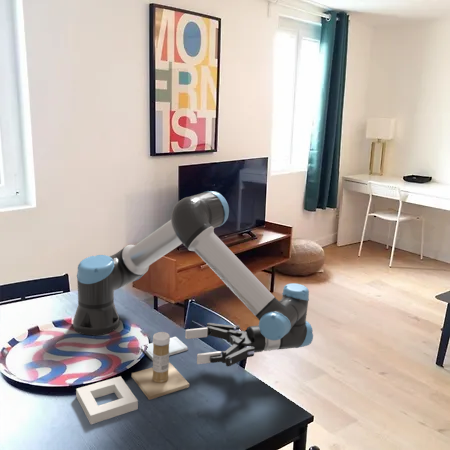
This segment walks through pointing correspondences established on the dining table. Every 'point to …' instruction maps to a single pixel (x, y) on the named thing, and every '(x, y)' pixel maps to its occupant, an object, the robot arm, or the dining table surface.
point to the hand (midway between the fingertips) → (191, 346)
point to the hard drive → (174, 347)
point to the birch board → (159, 389)
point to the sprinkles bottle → (160, 356)
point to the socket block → (109, 409)
